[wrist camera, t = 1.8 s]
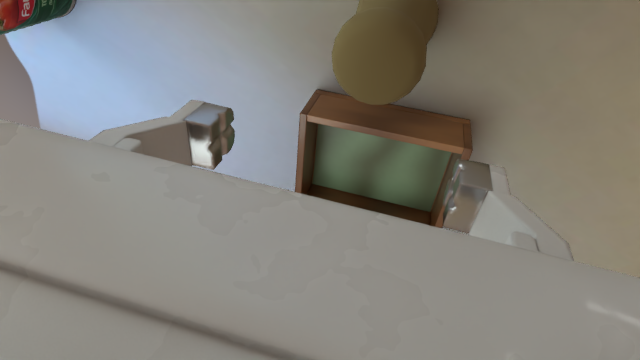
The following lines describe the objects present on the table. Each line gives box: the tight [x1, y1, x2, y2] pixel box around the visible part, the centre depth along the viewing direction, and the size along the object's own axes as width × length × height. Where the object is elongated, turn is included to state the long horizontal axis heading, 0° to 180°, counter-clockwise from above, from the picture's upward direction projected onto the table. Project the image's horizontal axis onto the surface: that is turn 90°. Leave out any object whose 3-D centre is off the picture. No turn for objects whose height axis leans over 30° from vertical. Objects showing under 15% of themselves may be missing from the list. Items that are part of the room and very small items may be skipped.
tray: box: [295, 90, 473, 228], centre depth 37 cm, size 13×20×5 cm, turn 174°
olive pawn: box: [332, 0, 439, 105], centre depth 24 cm, size 6×6×11 cm
